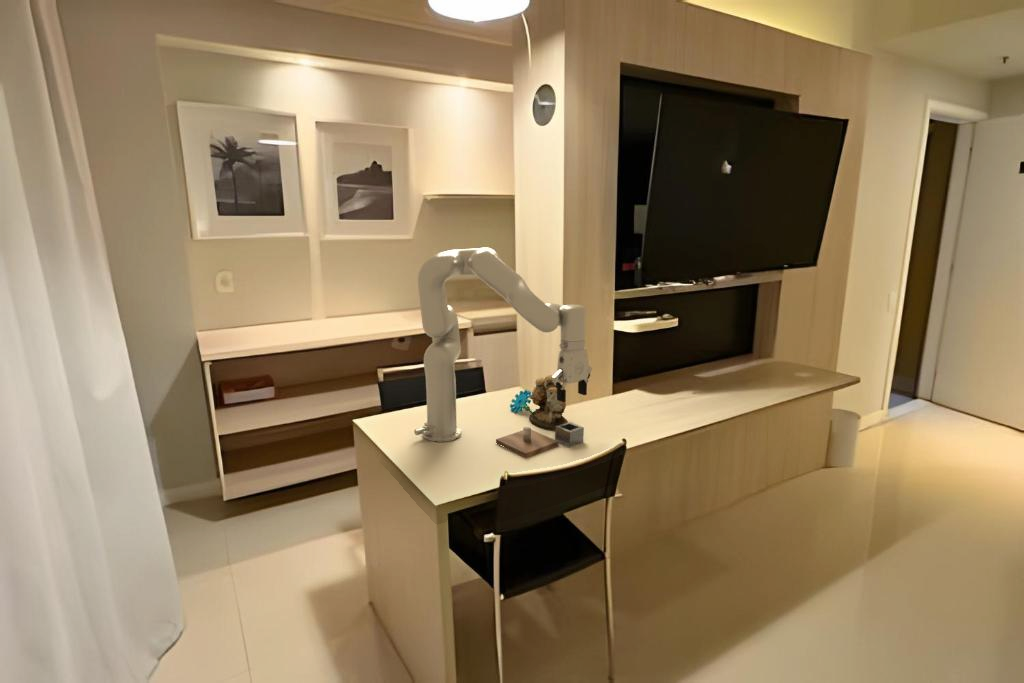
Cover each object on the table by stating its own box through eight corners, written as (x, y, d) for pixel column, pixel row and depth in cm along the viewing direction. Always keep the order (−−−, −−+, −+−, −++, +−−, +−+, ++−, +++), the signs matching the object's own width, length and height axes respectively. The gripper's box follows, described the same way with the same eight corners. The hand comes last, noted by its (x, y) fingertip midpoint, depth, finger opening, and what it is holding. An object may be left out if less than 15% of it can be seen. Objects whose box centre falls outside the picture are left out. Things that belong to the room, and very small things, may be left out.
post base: (525, 458, 166) (525, 440, 165) (495, 443, 176) (495, 427, 175) (558, 445, 175) (558, 429, 174) (528, 432, 185) (528, 417, 184)
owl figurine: (519, 417, 199) (519, 372, 196) (545, 411, 206) (546, 367, 202) (549, 433, 185) (550, 384, 181) (576, 426, 191) (578, 379, 188)
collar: (569, 447, 174) (570, 432, 173) (555, 441, 179) (555, 426, 178) (583, 442, 178) (583, 427, 177) (568, 436, 183) (569, 421, 182)
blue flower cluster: (505, 403, 209) (523, 384, 209) (515, 411, 212) (533, 393, 212) (515, 416, 200) (534, 397, 199) (525, 425, 202) (544, 406, 202)
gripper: (562, 351, 163) (561, 406, 167) (600, 342, 174) (599, 394, 178) (544, 347, 168) (544, 400, 172) (582, 338, 179) (581, 389, 183)
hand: (571, 397), depth 175 cm, fingers open, 9 cm apart
